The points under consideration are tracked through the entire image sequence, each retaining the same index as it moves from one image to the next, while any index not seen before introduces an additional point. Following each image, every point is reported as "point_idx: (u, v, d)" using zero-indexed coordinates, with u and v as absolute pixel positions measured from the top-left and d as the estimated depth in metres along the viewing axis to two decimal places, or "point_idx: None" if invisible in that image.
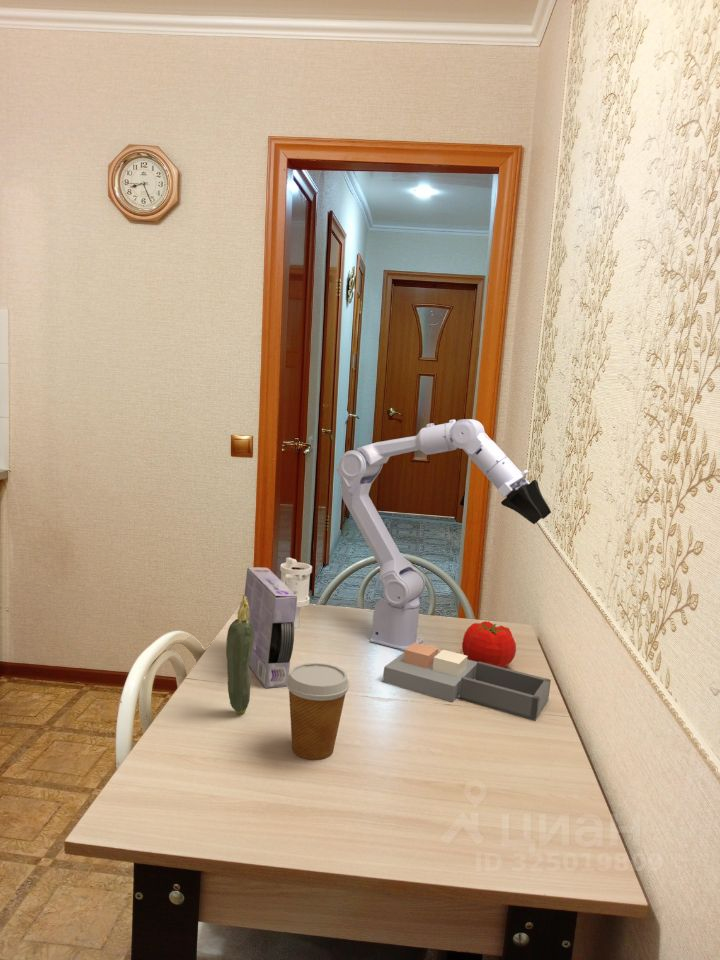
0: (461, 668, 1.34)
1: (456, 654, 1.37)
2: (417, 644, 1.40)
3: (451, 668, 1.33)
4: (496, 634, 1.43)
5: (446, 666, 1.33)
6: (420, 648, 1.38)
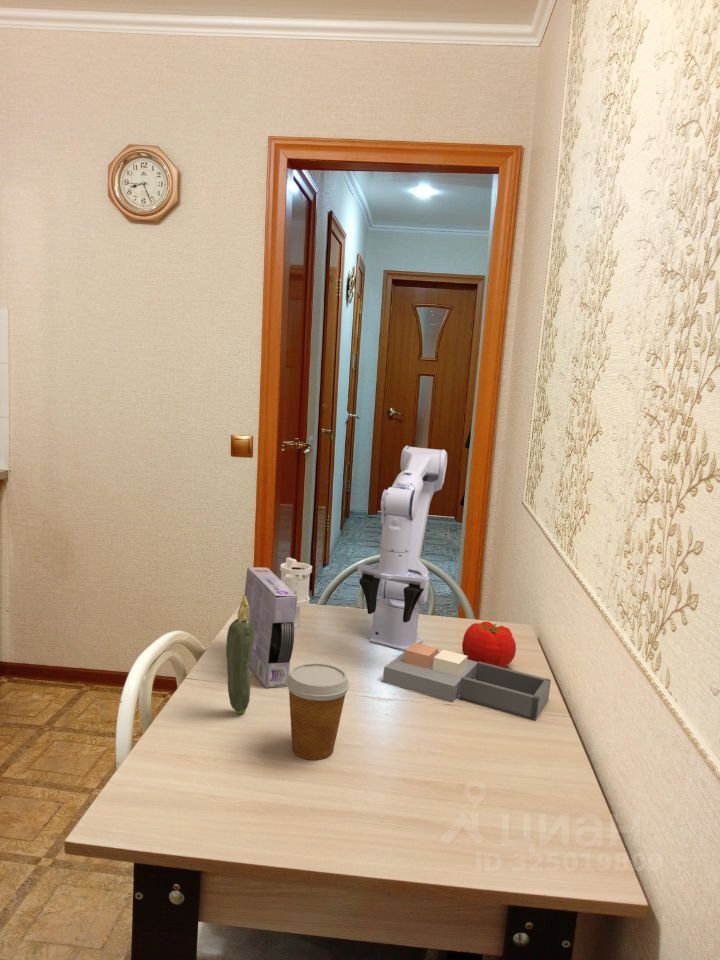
0: (461, 668, 1.34)
1: (456, 654, 1.37)
2: (417, 644, 1.40)
3: (451, 668, 1.33)
4: (496, 634, 1.43)
5: (446, 666, 1.33)
6: (420, 648, 1.38)
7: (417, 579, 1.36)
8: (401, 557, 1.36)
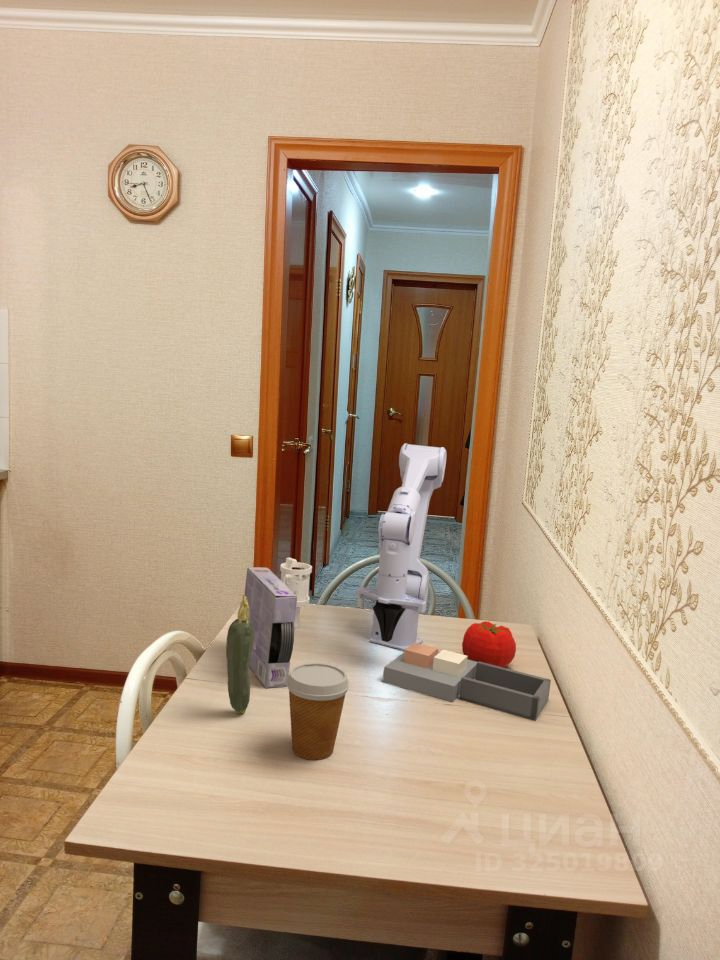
0: (461, 668, 1.34)
1: (456, 654, 1.37)
2: (417, 644, 1.40)
3: (451, 668, 1.33)
4: (496, 634, 1.43)
5: (446, 666, 1.33)
6: (420, 648, 1.38)
7: (414, 603, 1.37)
8: (398, 582, 1.37)
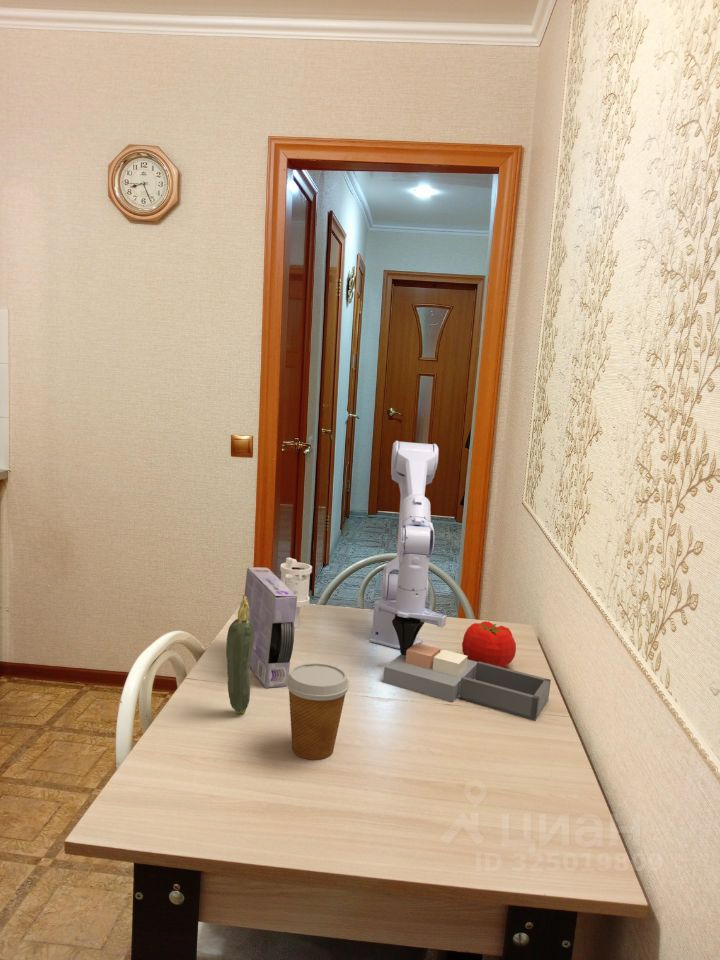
0: (461, 668, 1.34)
1: (456, 654, 1.37)
2: (419, 644, 1.40)
3: (451, 668, 1.33)
4: (496, 634, 1.43)
5: (446, 666, 1.33)
6: (422, 648, 1.38)
7: (434, 618, 1.35)
8: (418, 595, 1.36)
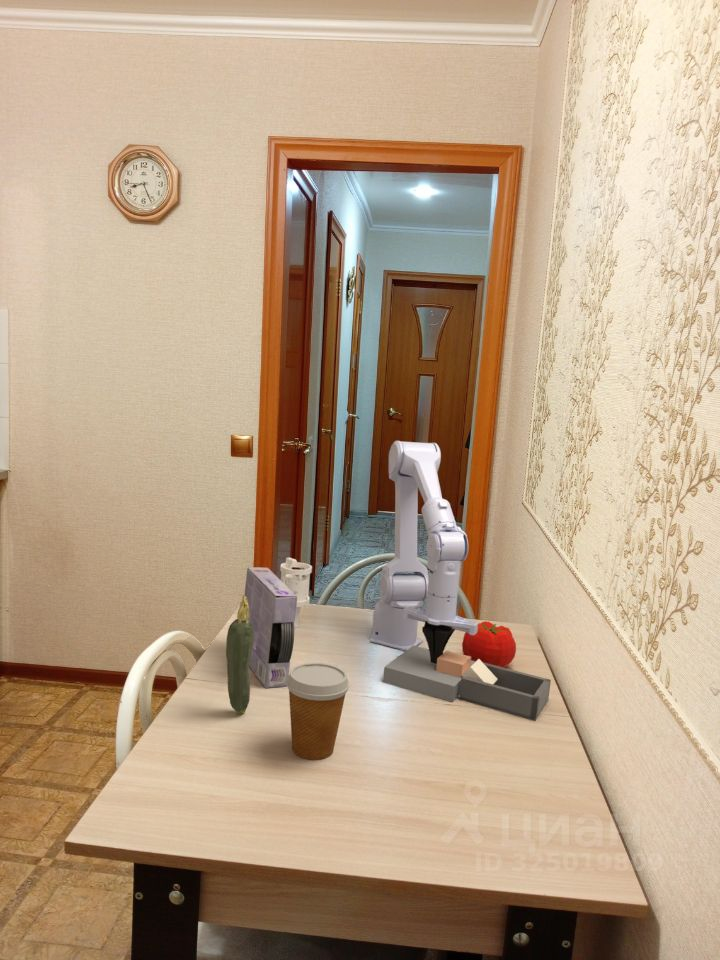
0: None
1: (489, 672, 1.34)
2: (449, 652, 1.37)
3: None
4: (496, 634, 1.43)
5: None
6: (453, 656, 1.35)
7: (466, 625, 1.32)
8: (449, 602, 1.33)
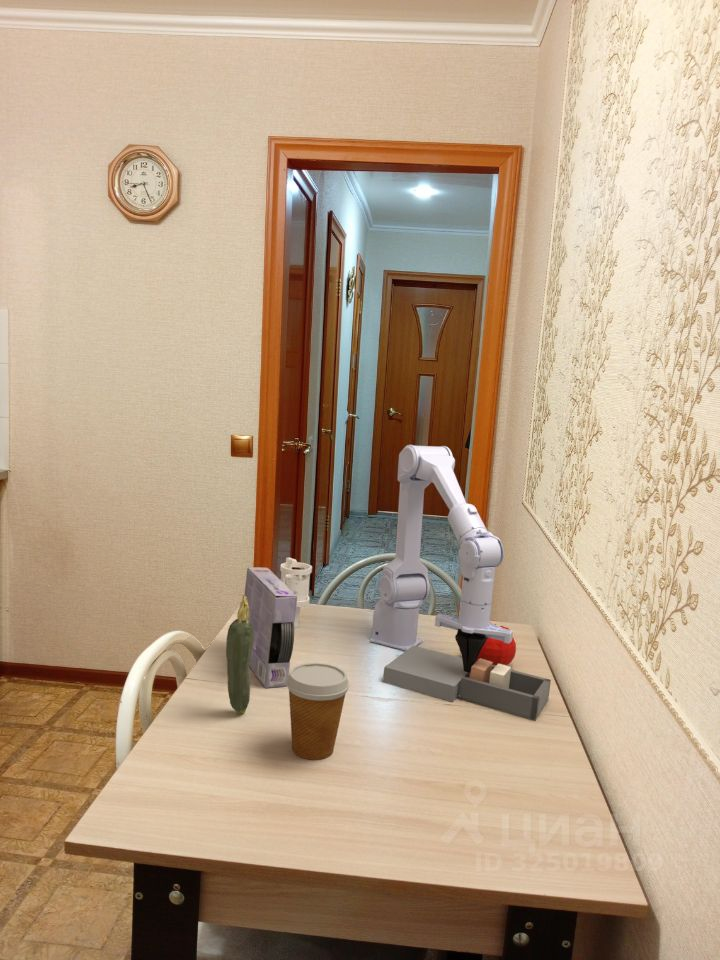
0: None
1: (508, 683, 1.33)
2: (490, 668, 1.34)
3: None
4: None
5: None
6: (486, 677, 1.33)
7: (501, 633, 1.29)
8: (484, 610, 1.30)
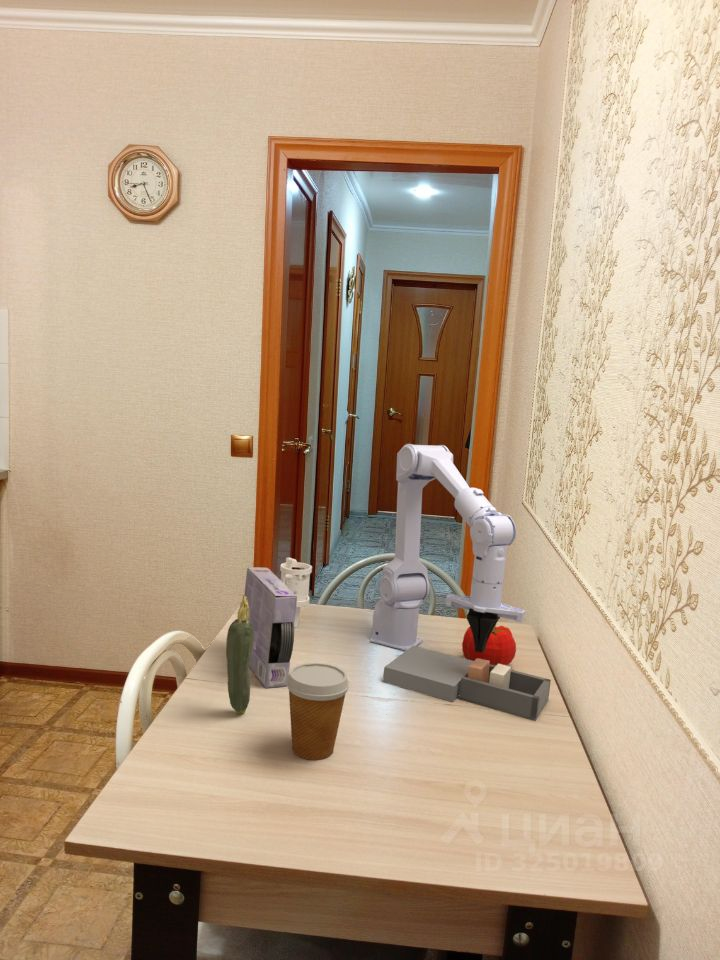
0: None
1: (508, 683, 1.33)
2: (488, 666, 1.34)
3: None
4: (496, 634, 1.43)
5: None
6: (485, 676, 1.33)
7: (513, 612, 1.28)
8: (496, 589, 1.28)
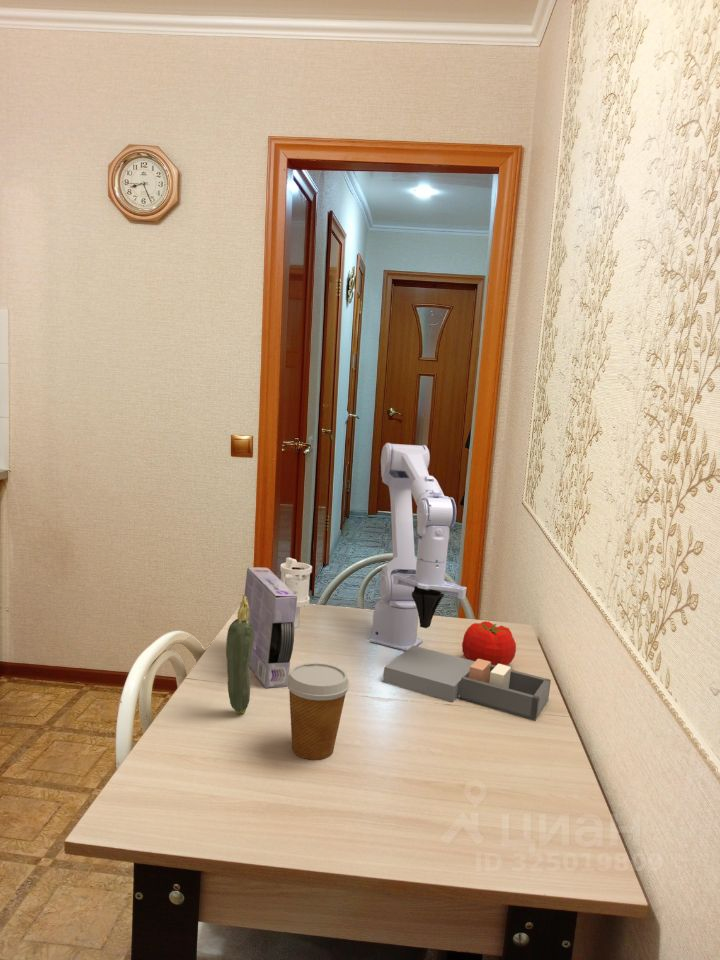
0: None
1: (508, 683, 1.33)
2: (489, 667, 1.34)
3: None
4: (496, 634, 1.43)
5: None
6: (486, 676, 1.33)
7: (454, 589, 1.35)
8: (438, 567, 1.35)
